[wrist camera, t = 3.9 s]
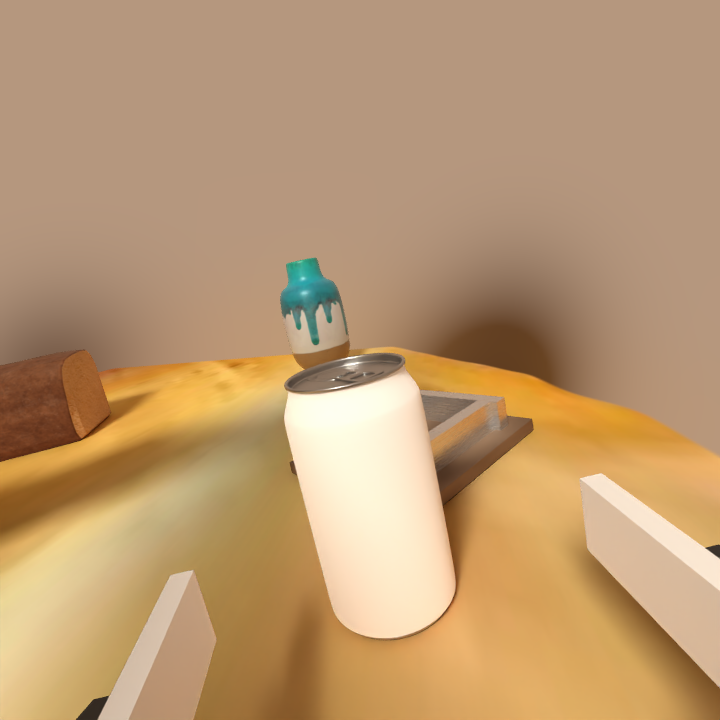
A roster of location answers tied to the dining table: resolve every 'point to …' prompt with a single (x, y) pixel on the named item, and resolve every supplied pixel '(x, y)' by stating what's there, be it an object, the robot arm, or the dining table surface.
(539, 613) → the dining table surface
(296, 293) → the vase
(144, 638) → the robot arm
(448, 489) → the collar base
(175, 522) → the dining table surface
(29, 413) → the bread
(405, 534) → the can
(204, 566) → the dining table surface
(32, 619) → the dining table surface
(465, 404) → the grey hollow square frame
